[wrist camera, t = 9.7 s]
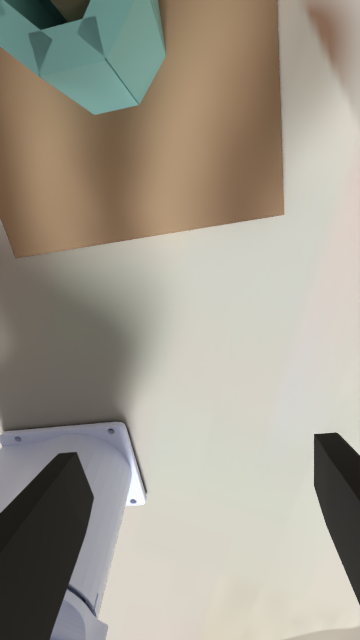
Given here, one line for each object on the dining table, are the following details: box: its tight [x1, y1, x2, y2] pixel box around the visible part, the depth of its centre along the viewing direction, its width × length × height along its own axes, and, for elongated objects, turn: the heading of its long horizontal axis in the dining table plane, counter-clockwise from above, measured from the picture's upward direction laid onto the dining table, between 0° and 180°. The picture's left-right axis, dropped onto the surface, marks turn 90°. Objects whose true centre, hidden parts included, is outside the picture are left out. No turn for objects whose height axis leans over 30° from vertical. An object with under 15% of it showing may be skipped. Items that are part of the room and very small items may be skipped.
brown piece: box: [0, 0, 284, 258], centre depth 10 cm, size 14×16×7 cm
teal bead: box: [0, 0, 166, 115], centre depth 10 cm, size 5×5×5 cm
